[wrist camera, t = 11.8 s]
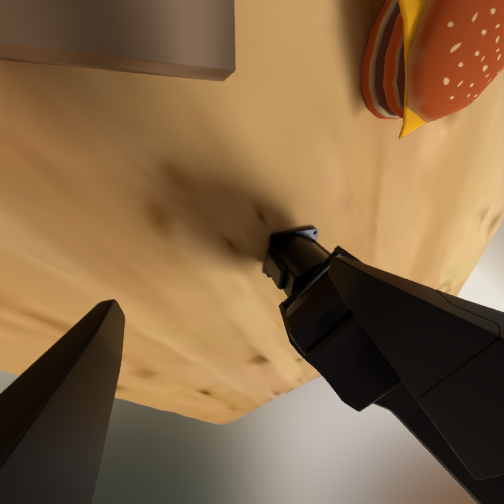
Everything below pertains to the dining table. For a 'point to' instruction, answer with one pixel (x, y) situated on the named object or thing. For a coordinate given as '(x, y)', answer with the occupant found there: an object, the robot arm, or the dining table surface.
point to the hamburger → (431, 58)
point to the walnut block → (123, 35)
